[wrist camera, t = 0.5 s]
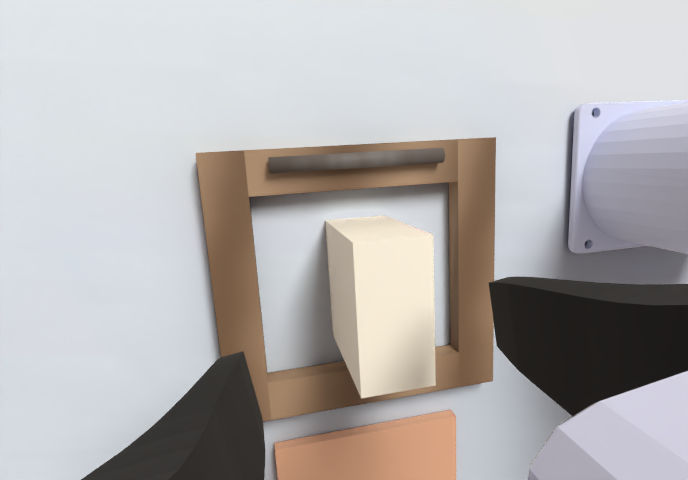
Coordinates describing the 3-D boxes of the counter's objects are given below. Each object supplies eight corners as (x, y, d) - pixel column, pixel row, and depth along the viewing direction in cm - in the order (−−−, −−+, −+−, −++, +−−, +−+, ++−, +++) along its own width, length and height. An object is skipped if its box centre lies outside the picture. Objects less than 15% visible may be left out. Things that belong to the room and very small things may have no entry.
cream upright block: (383, 215, 21) (433, 234, 15) (388, 327, 22) (435, 385, 16) (325, 220, 20) (352, 242, 14) (332, 334, 21) (361, 398, 15)
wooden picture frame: (484, 138, 21) (504, 136, 19) (482, 372, 23) (500, 387, 22) (198, 153, 18) (192, 152, 17) (230, 415, 21) (228, 436, 19)
